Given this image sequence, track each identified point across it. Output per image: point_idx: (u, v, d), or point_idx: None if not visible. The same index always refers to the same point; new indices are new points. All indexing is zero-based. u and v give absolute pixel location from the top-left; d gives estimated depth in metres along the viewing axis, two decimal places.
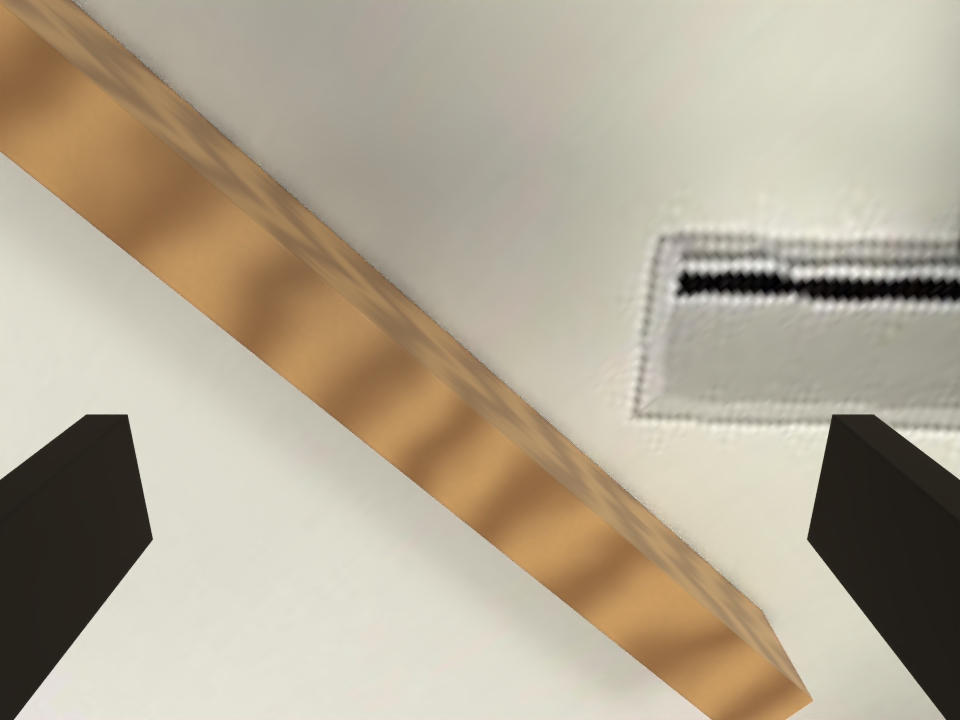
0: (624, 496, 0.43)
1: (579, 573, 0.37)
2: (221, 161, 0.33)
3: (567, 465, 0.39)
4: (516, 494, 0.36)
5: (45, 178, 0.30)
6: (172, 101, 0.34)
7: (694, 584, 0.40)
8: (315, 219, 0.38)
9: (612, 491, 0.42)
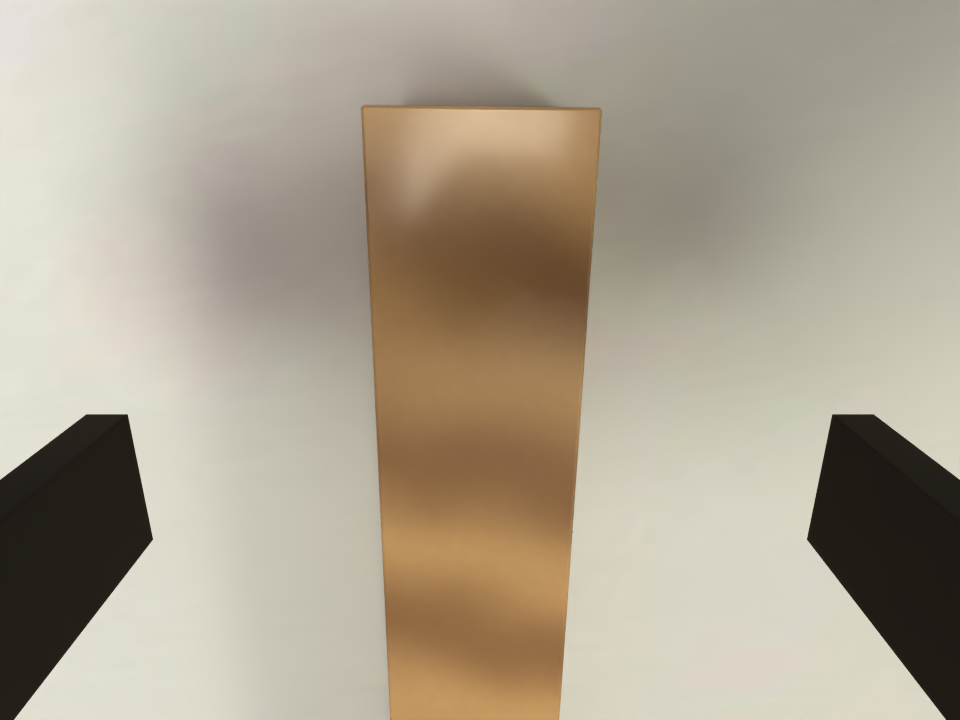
0: None
1: None
2: None
3: None
4: None
5: (401, 715, 0.21)
6: None
7: None
8: None
9: None
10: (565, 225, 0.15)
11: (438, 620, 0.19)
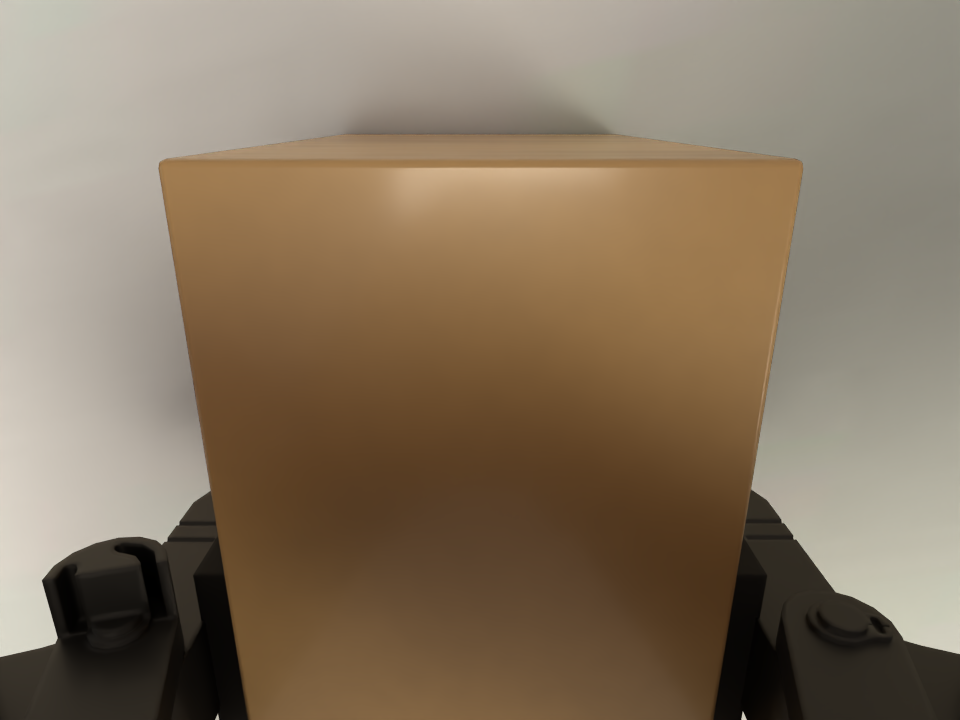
0: None
1: None
2: None
3: None
4: None
5: None
6: None
7: None
8: None
9: None
10: (689, 443, 0.06)
11: None
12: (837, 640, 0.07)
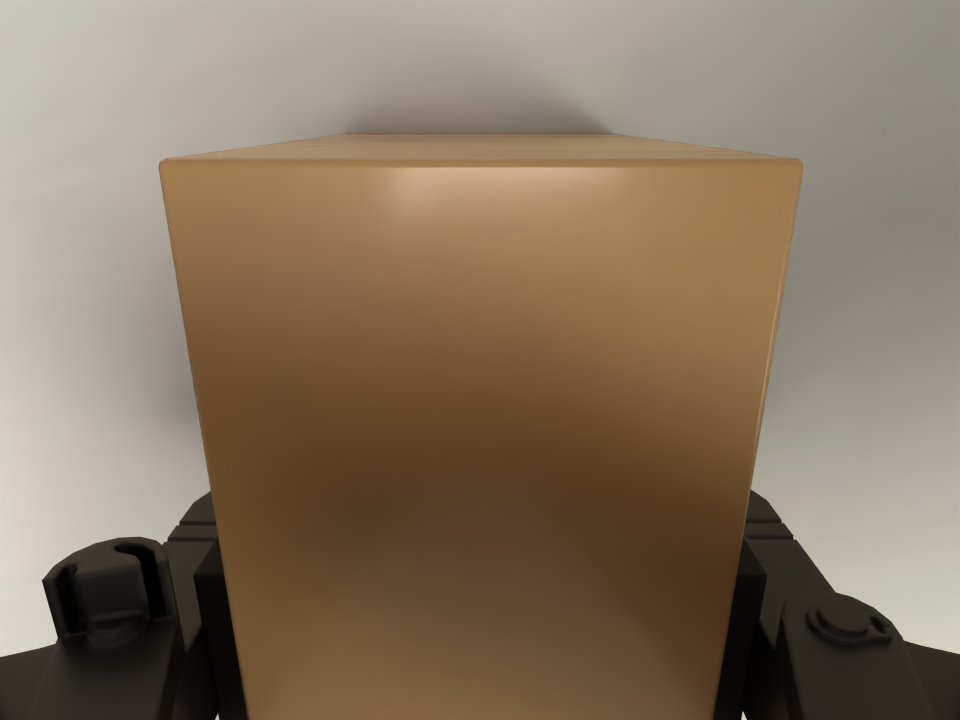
0: None
1: None
2: None
3: None
4: None
5: None
6: None
7: None
8: None
9: None
10: (689, 443, 0.06)
11: None
12: (836, 640, 0.07)
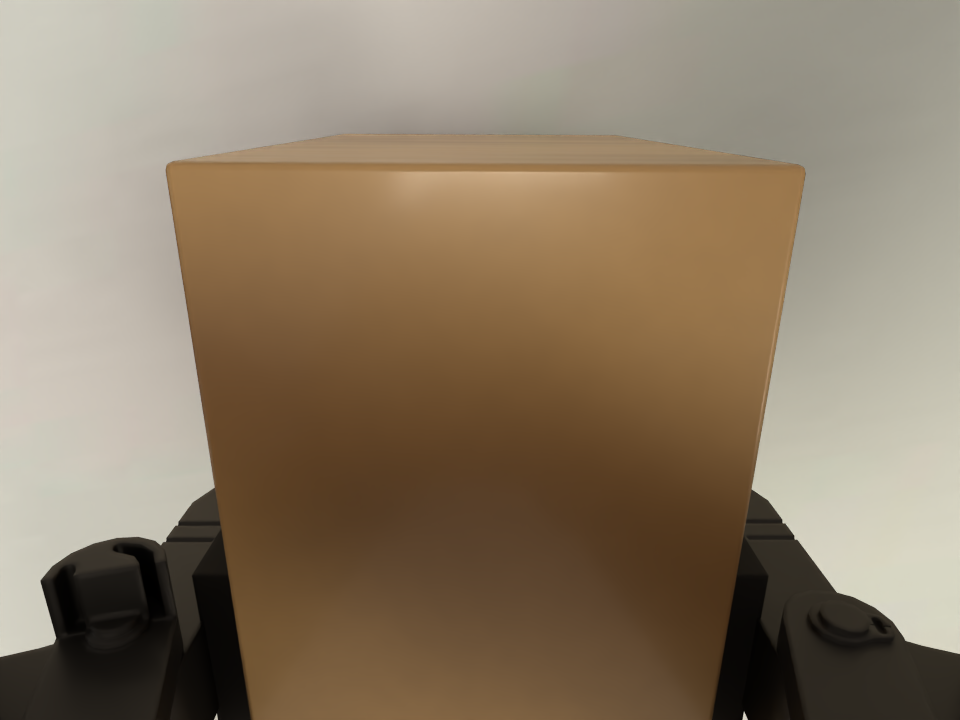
0: None
1: None
2: None
3: None
4: None
5: None
6: None
7: None
8: None
9: None
10: (692, 445, 0.06)
11: None
12: (838, 640, 0.07)
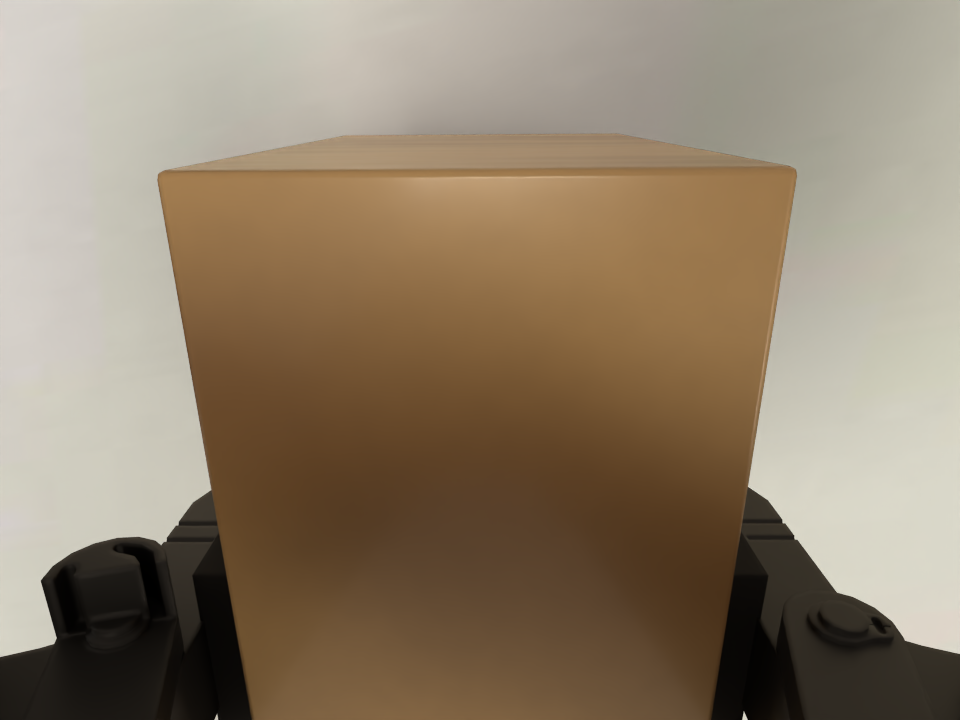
0: None
1: None
2: None
3: None
4: None
5: None
6: None
7: None
8: None
9: None
10: (686, 448, 0.06)
11: None
12: (837, 640, 0.07)
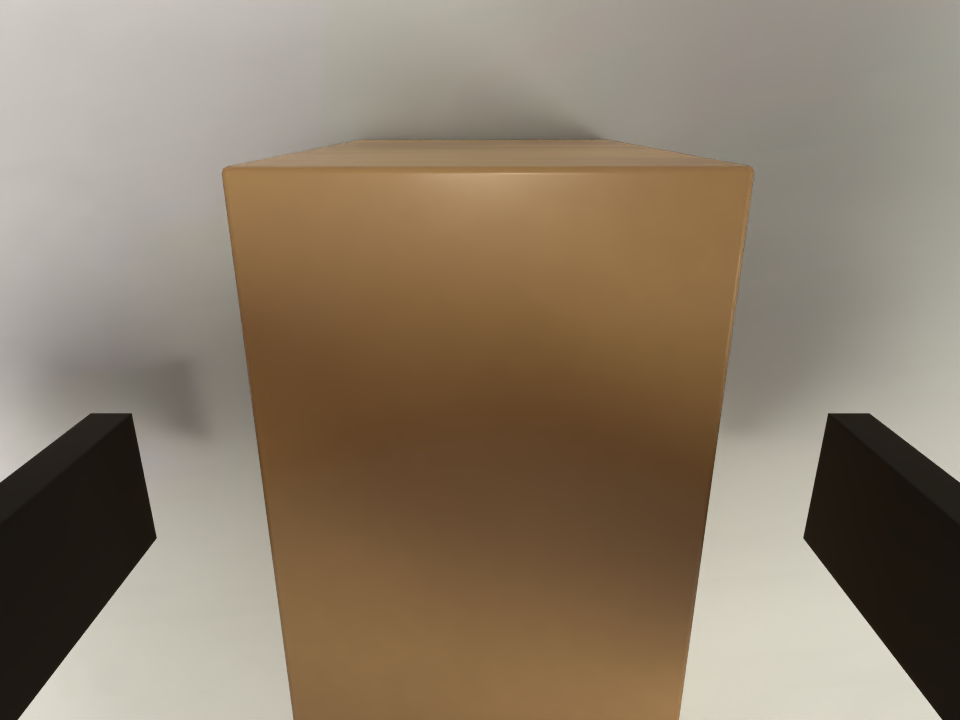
0: None
1: None
2: None
3: None
4: None
5: None
6: None
7: None
8: None
9: None
10: (664, 405, 0.07)
11: None
12: None
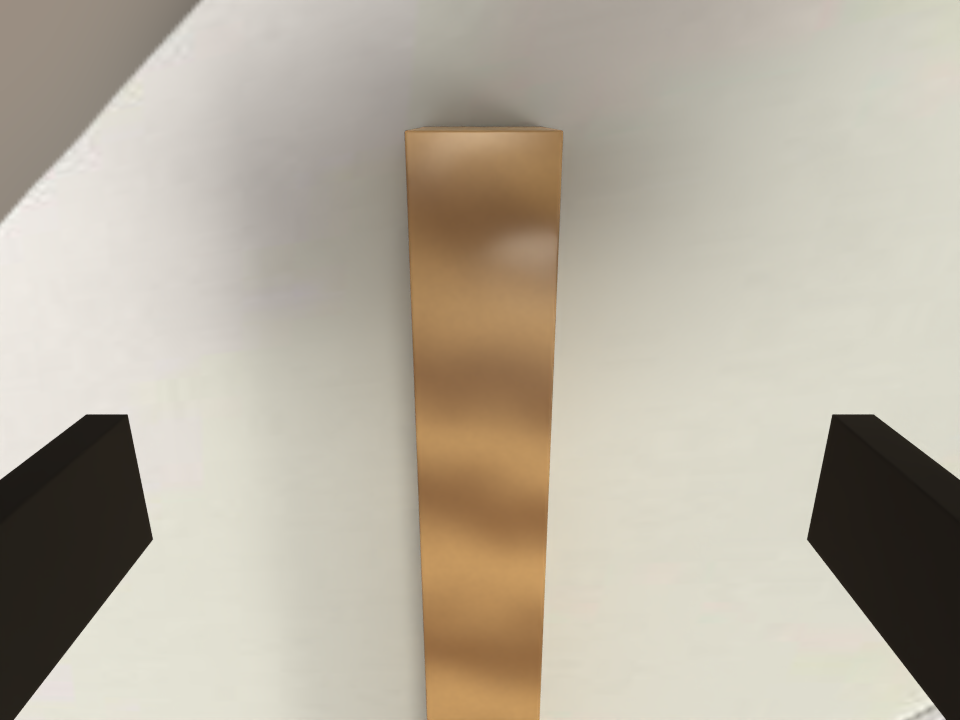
0: None
1: None
2: None
3: None
4: None
5: (429, 571, 0.28)
6: None
7: None
8: None
9: None
10: (540, 208, 0.23)
11: (456, 495, 0.27)
12: None
